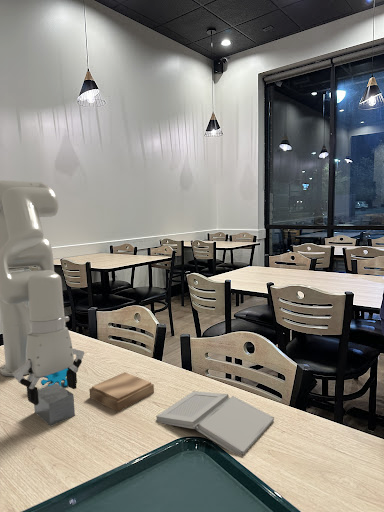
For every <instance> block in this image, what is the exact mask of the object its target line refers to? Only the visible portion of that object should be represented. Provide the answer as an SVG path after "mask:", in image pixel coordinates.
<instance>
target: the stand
mask: <svg viewBox="0 0 384 512" xmlns="http://www.w3.org/2000/svg"><path fill="white" fill-rule="evenodd" d="M88 391H89V399H92V400H94V401H96V402H98V403H100V404H102V405H104V406H105V407H108V408H109V409H112V410H114V411H115V412H118V413H119V412H121V411H123V410H124V409H127V408H128V407H131V406H133V405H134V404H135V403H138V402H139V401H141V400H143V399H145V398H147V397H149V396H151V395H152V394H154V393H155V385H154V383H152V382H151V381H149V380H146V379H143V378H140V377H137V376H135V375H133V374H130V373H128V372H122V373H120V374H117V375H116V376H113V377H111V378H109V379H106V380H104V381H101V382H99V383H97V384H95V385H93V386H91V388H89V389H88Z"/></svg>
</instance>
